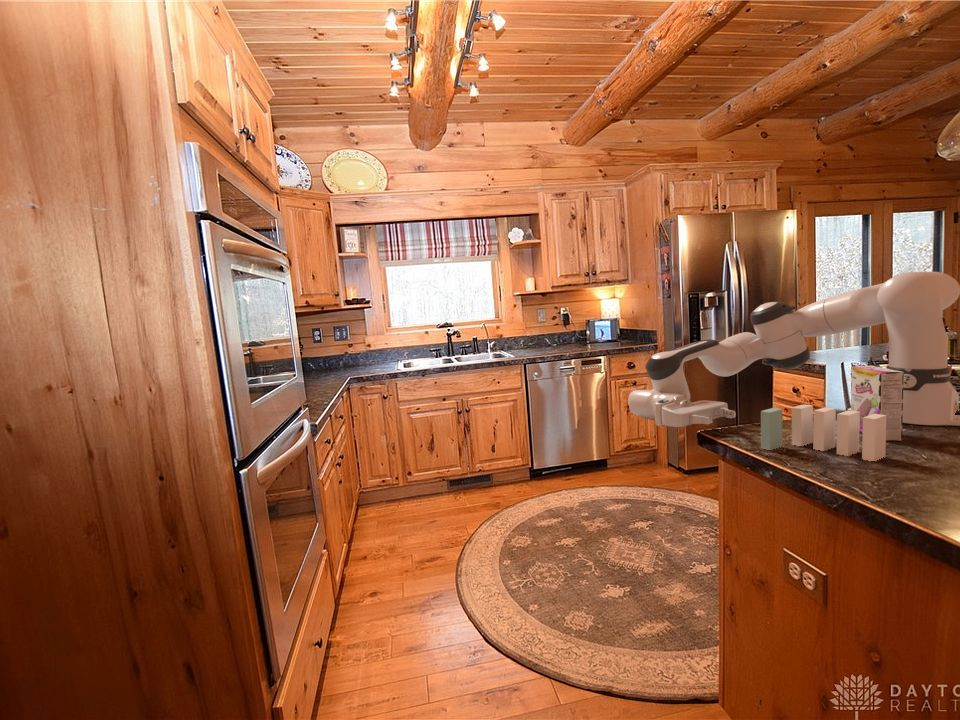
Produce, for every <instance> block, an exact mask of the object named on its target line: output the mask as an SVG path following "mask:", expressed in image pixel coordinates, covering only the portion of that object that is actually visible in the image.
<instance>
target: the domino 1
mask: <svg viewBox="0 0 960 720" xmlns="http://www.w3.org/2000/svg"><path fill="white" fill-rule="evenodd" d="M781 446H782V447H783V408H777V407H771V408H767V409H764V410H760V449H761V448H762V449H761V450H763V449H766V450H765V451H767V450H772V451H774V450H773V449H775V450H777V449H780V448H782V447H781ZM779 447H780V448H779ZM776 448H777V449H776Z"/></svg>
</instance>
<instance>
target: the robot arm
mask: <svg viewBox="0 0 960 720" xmlns="http://www.w3.org/2000/svg"><path fill="white" fill-rule="evenodd" d="M959 297H960V284H959V282H958V281H957V280H956V278H954V277H952V276H951V275H949V274H947V273H943V272H941V271H909V272H908V271H907V272H903V273H900V274H899V273H898V274H897V275H895V276H893V277H891V278H889V279H887V280H886V281H885V282H882V283H878V284H875V285H870V286H866V287H865V286H864V287H860V288H858V289H857V288H856V289H854V290H850V291H847V292H844V293H840V294H836V295H834V296H829V297H827V298H822V299H820V300H818V301H815V302H812V303H810V304H807V305H805V306H803V307H801V308H799V309H797V310H795V309H796V308H797V307H796V306H795V305H794V304H793V305H790V304H788V303H786V302H783V301H771V302H770V301H769V302H765V303H763V304H760V305H759V306H757V307H756V308H755V309H754V310H752V311H751V313H750V316H749V317H750V323H751V325H752V326H753V329H754V332H755V333H753V332H749V331H746V332H740V333H735V334H733V335H731V336H729V337H727V338H725V339H723V340H721V341H719V342H718V340H716V339H702V340H697V341H694V342H690V343H688V344H686V345H682V346H679V347H676V348H674V349H670V350H665V351H661V352H657V353H654V354H652V355H650V356H649V358H648V360H647V362H646V364H645V366H644V367H645V370H646V372H647V374H648V377H649V379H650V382H651V385H652V389H634V390H632V391H630V393H629V394H628V400H627V403H628V407H629V411H630V412H631V413H632V414H633V415H635V416H637V417H640V418H643V419H645V420H650V421H654V422H655V425H656V426H658V427H665V426H667V427H672V428H684V427H688V426H691V425H696V424H697V425H698V424H699V425H702V424H703V425H711V424H713V420H715V419H719V418H723V417H725V418H726V419H733V418H734V419H735V418H736V416H737V415H736V414H737V412H736V411H735V410H733V409H732V410H731V409H729V405H728V403H727V402H725V401H719V400H718V401H716V400H708V399H707V400H704V399H703V400H697V401H693V402H692V401H691V393H690V390H689V389H690V388H689V385H688V382H687V379H686V375H685V372H684V363H685V362H687V361H690V360H695V359H696V358H698V359H699V360H700V361H701V362H702V364H703V366H704V367H705V369H706V370H708V371H709V372H710V373H712V374H713V375H716V376H718V377H730V376H731V377H732V376H733V375H736V374H738V373H739V372H741V371H743V370H744V369H746V368H747V367H749V366H750V365H751V364H753V363H755V362H756V361H758V360H762V359H764V360H763V362H762V364H764V365H765V366H771V367H773V368H775V369H779V370H782V371H784V370H785V371H787V370H792V369H797V368H799V367H802V366H803V365H804V364H806V363H807V362H808V361H809V360H810V358H811V355H810V354H811V352H810V348H809V347H808V346H807V344H806V341H805V338H812V337H813V338H815V337H823V336H830V335H831V336H832V335H836V334H841V333H845V332H850V331H855V330H859V329H864V328H868V327H872V326H876V325H877V326H878V325H883V324H886V330H887V335H888V365H887V366H886V369H891V370H896V371H901V372H904V378H903V422H902V424H909V425H920V426H922V425H923V426H957V427H958V426H959V427H960V416H956V415H955V413H956V411H957V410H958V411H959V410H960V405H959V403H960V402H959V400H960V395H959V392H957V390H956V389H955V387H954V386H953V385H952V384H951V382H950V381H952V378H951V375H952V370H953V368H952V367H951V366H948V361H949V360H948V358H949V356H948V355H949V354H948V353H949V335H948V333H947V331H946V328H945V324H944V321H943V316H942V311H944V310H946V309H947V308H949V307H950V306H952V305H953V304H954V303H955V302H956V301H957V300H958V299H959ZM793 310H795V311H793Z"/></svg>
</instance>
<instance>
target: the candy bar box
mask: <svg viewBox="0 0 960 720" xmlns="http://www.w3.org/2000/svg"><path fill="white" fill-rule="evenodd" d="M886 368H887V367H886ZM886 368H885V367H882V366H876V365H855V366H851V367H850V411H858V412H860V432H859V434H862V435H863V417H866V416H869V415H872V414H881V415H886V442H902V441H903V423H902V422H903V378H904V372H901V371H896V370H891V369H886Z"/></svg>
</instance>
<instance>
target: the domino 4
mask: <svg viewBox="0 0 960 720" xmlns="http://www.w3.org/2000/svg"><path fill="white" fill-rule="evenodd" d="M836 416H837V417H836V420H837V421H836V455H838V454H839V456H842V455H844V456H843V457H847V456H848V457H850V456H852V454H853V455H856V454H857V452H858V453H860V412H858V411H851V409H850V410H849V409H848V410H845V411H843V412H840V413H837V415H836Z"/></svg>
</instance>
